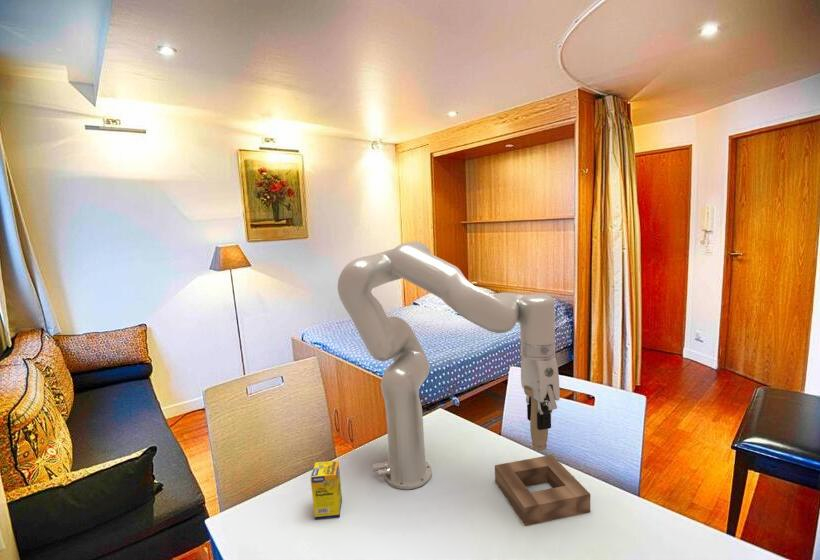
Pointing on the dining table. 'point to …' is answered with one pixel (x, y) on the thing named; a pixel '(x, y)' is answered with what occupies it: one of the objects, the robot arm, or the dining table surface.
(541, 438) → the handle
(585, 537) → the dining table surface
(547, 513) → the socket block
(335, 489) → the supplement box
